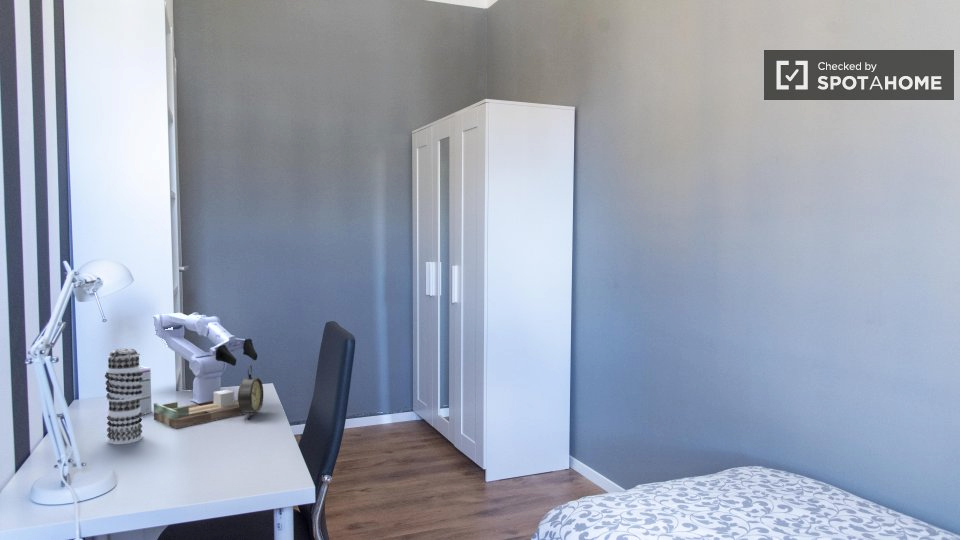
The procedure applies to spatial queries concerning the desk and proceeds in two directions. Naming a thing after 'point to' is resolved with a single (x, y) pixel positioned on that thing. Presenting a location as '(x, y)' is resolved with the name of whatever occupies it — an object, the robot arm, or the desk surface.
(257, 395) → the alarm clock
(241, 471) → the desk surface
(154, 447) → the desk surface
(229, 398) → the white block
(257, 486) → the desk surface
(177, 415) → the trap board
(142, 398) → the syrup box
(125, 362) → the decorative candle
